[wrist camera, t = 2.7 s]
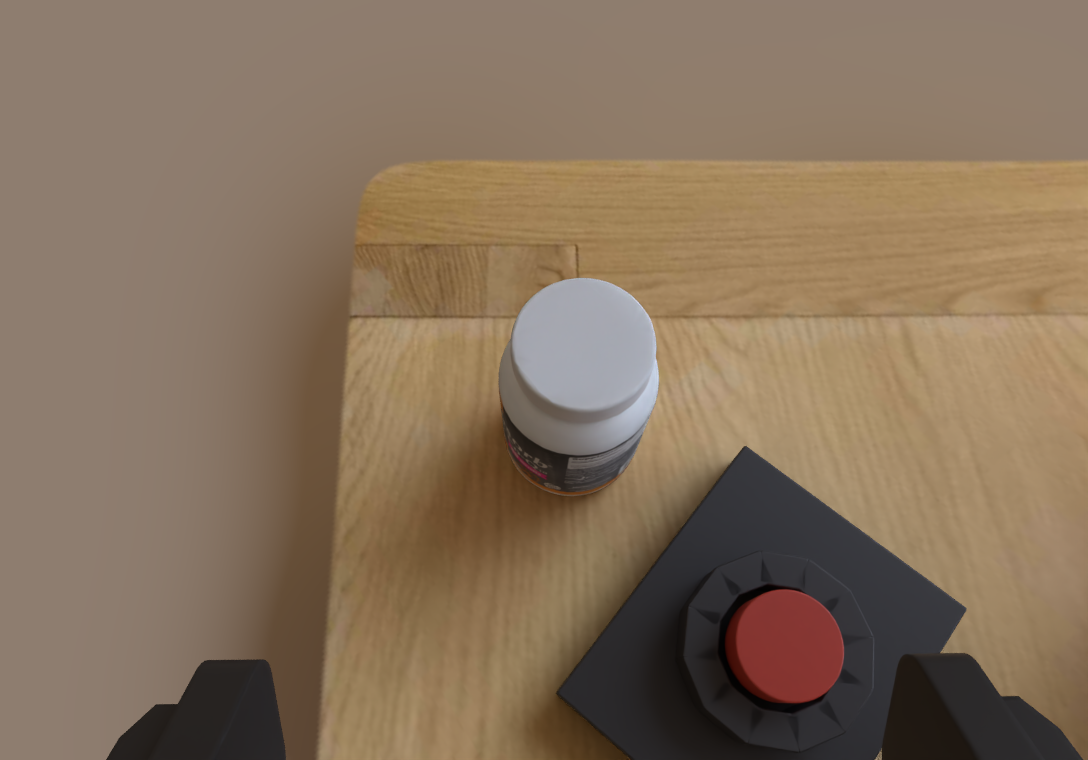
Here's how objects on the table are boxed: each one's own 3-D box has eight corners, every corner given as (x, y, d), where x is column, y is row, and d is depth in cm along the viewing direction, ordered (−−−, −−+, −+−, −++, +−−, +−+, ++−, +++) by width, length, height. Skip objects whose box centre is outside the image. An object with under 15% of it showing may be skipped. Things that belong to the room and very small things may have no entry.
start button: (790, 726, 28) (806, 728, 26) (704, 655, 29) (713, 652, 27) (847, 640, 29) (865, 636, 27) (761, 573, 30) (774, 566, 28)
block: (773, 884, 29) (807, 911, 26) (555, 693, 32) (557, 692, 28) (941, 614, 33) (993, 603, 29) (733, 459, 35) (756, 430, 31)
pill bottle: (481, 410, 36) (460, 309, 26) (595, 351, 37) (613, 234, 27) (545, 524, 34) (547, 459, 25) (663, 459, 35) (707, 372, 26)
